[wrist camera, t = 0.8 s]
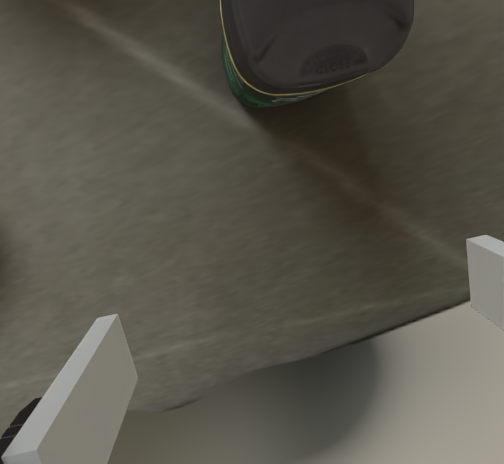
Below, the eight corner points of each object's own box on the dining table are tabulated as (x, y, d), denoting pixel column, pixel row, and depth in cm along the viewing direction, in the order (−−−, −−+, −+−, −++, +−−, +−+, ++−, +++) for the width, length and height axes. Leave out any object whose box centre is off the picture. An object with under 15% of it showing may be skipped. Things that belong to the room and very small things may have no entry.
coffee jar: (234, 118, 37) (238, 105, 19) (214, 24, 35) (197, -88, 17) (339, 94, 37) (441, 59, 19) (324, -1, 35) (422, -139, 17)
